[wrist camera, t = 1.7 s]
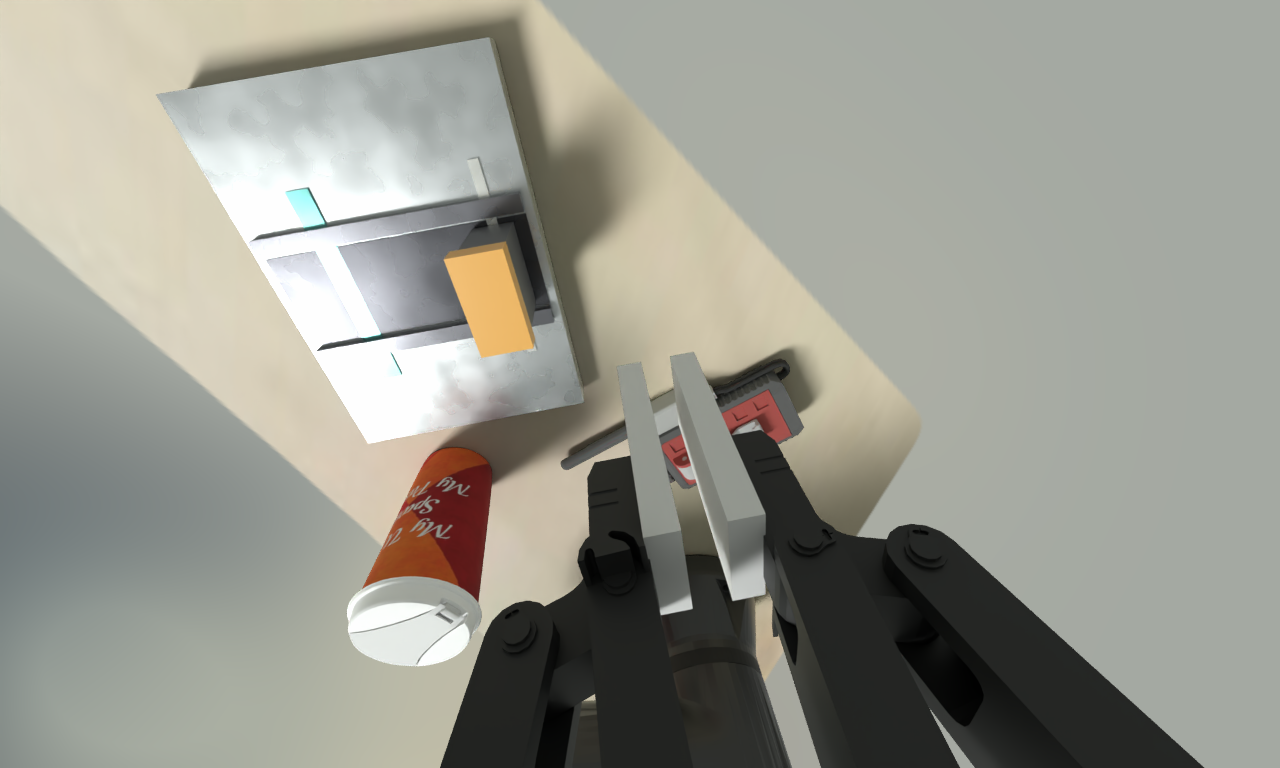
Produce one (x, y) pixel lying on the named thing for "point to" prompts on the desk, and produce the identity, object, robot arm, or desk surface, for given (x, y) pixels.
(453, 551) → the paper cup
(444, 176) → the console board
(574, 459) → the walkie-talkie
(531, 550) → the desk surface
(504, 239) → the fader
